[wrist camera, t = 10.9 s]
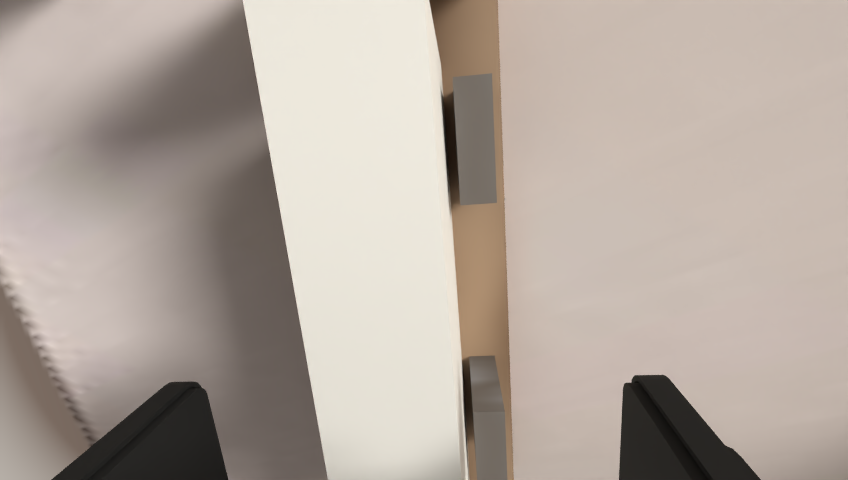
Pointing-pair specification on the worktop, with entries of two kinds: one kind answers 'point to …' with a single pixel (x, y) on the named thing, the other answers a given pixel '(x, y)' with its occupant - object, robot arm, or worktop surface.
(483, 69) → the cabinet base
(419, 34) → the door panel
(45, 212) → the worktop surface
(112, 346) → the worktop surface
